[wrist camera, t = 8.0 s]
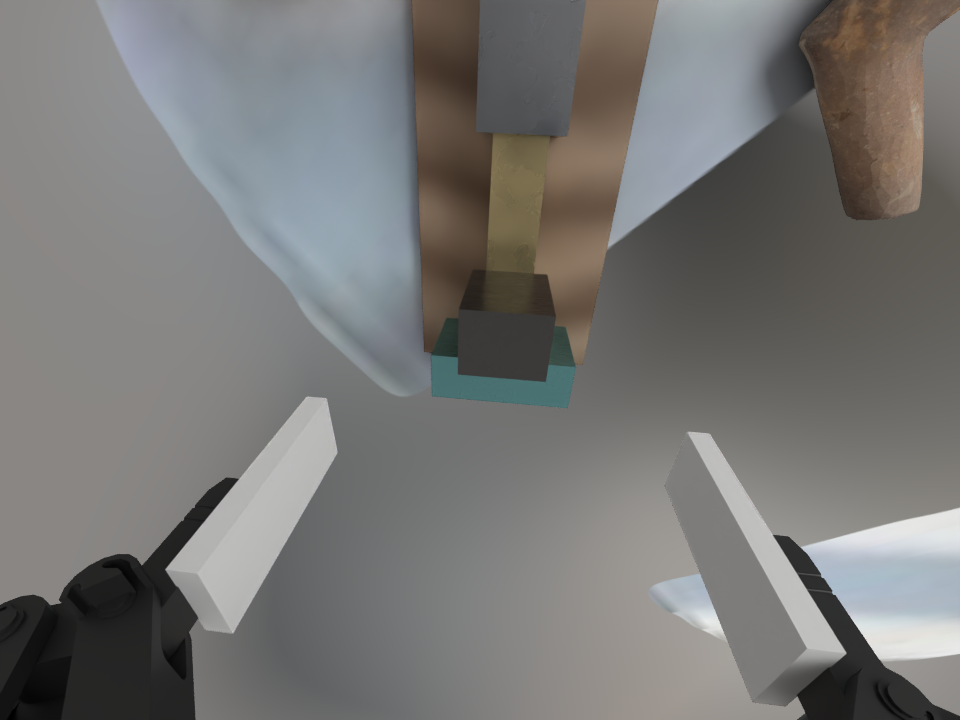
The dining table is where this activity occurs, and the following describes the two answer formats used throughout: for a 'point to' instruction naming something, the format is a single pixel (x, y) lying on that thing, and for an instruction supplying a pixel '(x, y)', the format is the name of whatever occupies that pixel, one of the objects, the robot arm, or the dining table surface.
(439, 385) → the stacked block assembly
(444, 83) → the base board
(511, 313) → the square head mallet
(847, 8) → the pipe
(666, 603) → the dining table surface
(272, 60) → the dining table surface
